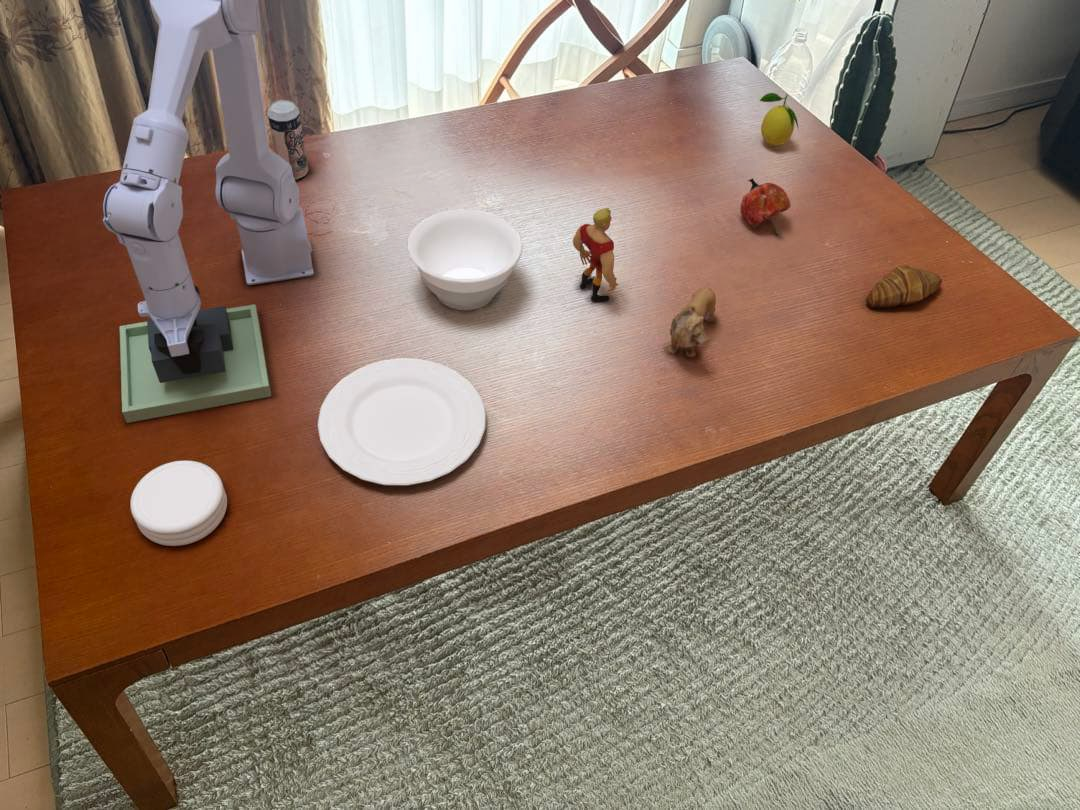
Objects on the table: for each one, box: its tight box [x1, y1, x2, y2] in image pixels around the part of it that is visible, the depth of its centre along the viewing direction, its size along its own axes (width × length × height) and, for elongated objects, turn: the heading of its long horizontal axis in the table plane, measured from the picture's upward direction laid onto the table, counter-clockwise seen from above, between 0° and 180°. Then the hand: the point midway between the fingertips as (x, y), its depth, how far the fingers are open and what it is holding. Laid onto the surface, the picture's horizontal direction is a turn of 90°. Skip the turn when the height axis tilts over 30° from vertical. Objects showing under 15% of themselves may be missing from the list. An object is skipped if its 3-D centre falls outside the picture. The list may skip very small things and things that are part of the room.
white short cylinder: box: [130, 460, 228, 547], centre depth 105 cm, size 10×10×4 cm
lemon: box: [759, 92, 800, 147], centre depth 160 cm, size 7×6×10 cm
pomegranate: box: [739, 178, 791, 237], centre depth 146 cm, size 7×7×10 cm
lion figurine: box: [667, 287, 717, 358], centre depth 127 cm, size 15×5×9 cm, turn 162°
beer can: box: [267, 99, 309, 180], centre depth 146 cm, size 5×5×12 cm
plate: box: [317, 357, 487, 487], centre depth 116 cm, size 21×21×2 cm
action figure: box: [572, 207, 619, 303], centre depth 130 cm, size 10×4×15 cm, turn 31°
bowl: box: [406, 208, 524, 311], centre depth 131 cm, size 16×16×8 cm
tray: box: [119, 304, 272, 424], centre depth 121 cm, size 18×16×2 cm
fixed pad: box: [146, 305, 233, 352], centre depth 122 cm, size 10×6×3 cm, turn 108°
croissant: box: [865, 265, 943, 309], centre depth 137 cm, size 14×7×5 cm, turn 115°
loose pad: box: [150, 323, 226, 383], centre depth 117 cm, size 8×5×4 cm, turn 108°
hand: (190, 355), depth 117 cm, fingers closed on loose pad, 5 cm apart
